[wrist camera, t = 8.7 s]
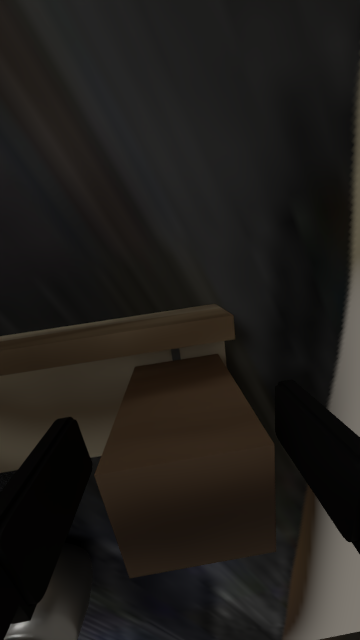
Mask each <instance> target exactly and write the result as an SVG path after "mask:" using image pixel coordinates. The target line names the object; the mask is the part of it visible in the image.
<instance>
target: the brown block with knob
mask: <svg viewBox="0 0 360 640" xmlns="http://www.w3.org/2000/svg"><path fill="white" fill-rule="evenodd" d="M94 476H95V479H96V482H97V485H98V488H99V490H100V493H101V496H102V499H103V502H104V505H105V508H106V511H107V514H108V517H109V520H110V522H111V525H112V528H113V531H114V534H115V537H116V540H117V543H118V546H119V549H120V551H121V554H122V557H123V560H124V563H125V566H126V569H127V572H128V575H129V578H134V577H140V576H145V575H151V574H156V573H161V572H167V571H172V570H178V569H183V568H189V567H194V566H200V565H205V564H211V563H216V562H222V561H227V560H232V559H238V558H243V557H249V556H254V555H260V554H265V553H271V552H276V513H275V449H274V443H273V441H272V440H271V438H270V437H269V435H268V433H267V432H266V430H265V429H264V427H263V425H262V424H261V422H260V421H259V419H258V417H257V416H256V414H255V413H254V411H253V409H252V408H251V406H250V405H249V403H248V401H247V400H246V398H245V396H244V395H243V393H242V392H241V390H240V388H239V387H238V385H237V384H236V382H235V380H234V379H233V377H232V376H231V374H230V372H229V371H228V369H227V368H226V366H225V364H224V363H223V361H222V359H221V358H220V356H219V355H218V354H212V355H206V356H200V357H193V358H187V359H181V360H174V361H168V362H161V363H155V364H149V365H142V366H136V367H135V368H134V370H133V373H132V376H131V378H130V381H129V384H128V386H127V389H126V392H125V394H124V397H123V400H122V402H121V405H120V408H119V410H118V413H117V416H116V418H115V421H114V424H113V426H112V429H111V432H110V434H109V437H108V440H107V442H106V445H105V448H104V450H103V453H102V456H101V458H100V461H99V464H98V466H97V469H96V472H95V474H94Z"/></svg>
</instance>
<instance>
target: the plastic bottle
mask: <svg viewBox="0 0 360 640" xmlns="http://www.w3.org/2000/svg"><path fill="white" fill-rule="evenodd" d="M92 580H93V569H92V562H91V558H90V555H89V554H88V553H87V552H86V551H85V550H84V549H82V548H81V547H79V546H76V545H73V544H69V543H64V545H63V548H62V551H61V553H60V556H59V559H58V561H57V564H56V566H55V569H54V572H53V574H52V577H51V580H50V582H49V585H48V588H47V590H46V592H45V595H44V597H43V598H42V600H41V601H40V602H39V603H37V605H36V608H35V611H34V613H33V616H32V618H31V621H26V622H21V623H16V624H11V625H10V627H9V629H8V632H7V634H6V636H5V638H4V640H78V637H79V634H80V630H81V627H82V624H83V621H84V618H85V615H86V611H87V608H88V605H89V600H90V593H91V587H92Z"/></svg>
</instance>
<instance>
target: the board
mask: <svg viewBox="0 0 360 640" xmlns="http://www.w3.org/2000/svg"><path fill="white" fill-rule="evenodd" d="M234 339H235V330H234V316H233V315H232V314H231V313H229V312H227V311H226V310H224V309H223V308H221V307H219V306H218V305H216V304H211V305H204V306H197V307H191V308H184V309H177V310H171V311H164V312H158V313H151V314H144V315H138V316H131V317H125V318H118V319H111V320H105V321H98V322H91V323H85V324H78V325H72V326H65V327H58V328H52V329H45V330H39V331H32V332H25V333H19V334H12V335H5V336H0V473H2V472H8V471H14V470H18V469H19V468H20V466H21V465H22V464H23V462H24V461H25V460H26V458H27V457H28V456H29V454H30V453H31V452H32V450H33V449H34V448H35V446H36V445H37V444H38V442H39V441H40V440H41V438H42V437H43V436H44V434H45V433H46V432H47V431H48V429H49V428H50V427H51V425H52V424H53V423H54V421H55V420H56V419H59V418H65V417H72V418H73V419H75V420H77V422H78V425H79V428H80V431H81V433H82V436H83V439H84V442H85V445H86V447H87V450H88V453H89V456H90V458H92V457H98V456H102V453H103V450H104V448H105V445H106V442H107V440H108V437H109V434H110V432H111V429H112V426H113V424H114V421H115V418H116V416H117V413H118V410H119V408H120V405H121V402H122V400H123V397H124V394H125V392H126V389H127V386H128V384H129V381H130V378H131V376H132V373H133V370H134V368H135V367H136V366H142V365H149V364H155V363H161V362H168V361H174V360H181V359H187V358H193V357H200V356H206V355H212V354H218V355H219V356H220V358H221V359H222V361H223V363H224V364H225V366H226V355H225V343H224V341H227V340H234ZM226 368H227V366H226Z"/></svg>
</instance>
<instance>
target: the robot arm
mask: <svg viewBox="0 0 360 640" xmlns="http://www.w3.org/2000/svg"><path fill="white" fill-rule="evenodd" d="M275 432H276V435H277V438H278V439H279V441H280V443H281V444H282V446H283V447H284V449H285V450H286V452H287V453H288V455H289V456H290V458H291V459H292V461H293V462H294V464H295V465H296V467H297V468H298V470H299V471H300V473H301V474H302V476H303V477H304V479H305V480H306V482H307V483H308V485H309V486H310V488H311V489H312V491H313V492H314V493H315V495H316V497H317V498H318V500H319V501H320V503H321V504H322V506H323V507H324V509H325V510H326V512H327V514H328V515H329V516H330V518H331V520H332V521H333V523H334V524H335V526H336V527H337V529H338V530H339V532H340V533H341V534H342V536H343V537H344V538H345V539H346V540H347V541H348V542H352V543H353V545H354V546H355V548H356V549H357V551H358V552H359V554H360V437H359V436H358V435H356V434H355V433H354V432H353V431H352V430H351V429H350V428H348V427H347V426H346V425H345V424H344V423H343V422H341V421H340V420H339V419H338V418H336V416H334V415H333V414H332V413H331V412H330V411H329V410H327V409H326V408H325V407H324V406H323V405H322V404H320V403H319V402H318V401H317V400H316V399H315V398H313V397H312V396H311V395H310V394H309V393H308V392H306V391H305V390H304V389H303V388H302V387H301V386H299V385H298V384H297V383H296V382H295V381H293V380H287V381H281V382H279V383H278V386H276V387H275ZM91 471H92V461H91V458H90V456H89V453H88V450H87V447H86V445H85V442H84V439H83V436H82V433H81V431H80V428H79V425H78V422H77V420H75V419H73V418H72V417H65V418H59V419H56V420H55V421H54V423H53V424H52V425H51V427H50V428H49V429H48V431H47V432H46V433H45V434H44V436H43V437H42V438H41V440H40V441H39V442H38V444H37V445H36V446H35V448H34V449H33V450H32V452H31V453H30V454H29V456H28V457H27V458H26V460H25V461H24V462H23V464H22V465H21V466H20V468H19V469H18V470H17V472H16V473H15V474H14V475H13V477H12V478H11V479H10V481H9V482H8V483H7V485H6V486H5V487H4V489H3V490H2V491H1V493H0V640H4V638H5V636H6V634H7V632H8V629H9V627H10V625H11V624H16V623H21V622H26V621H31V618H32V616H33V613H34V611H35V608H36V605H37V603H39V602H40V601H41V600H42V598H43V597H44V595H45V592H46V590H47V588H48V585H49V582H50V580H51V577H52V574H53V572H54V569H55V566H56V564H57V561H58V559H59V556H60V553H61V551H62V548H63V545H64V543H65V540H66V538H67V535H68V532H69V530H70V527H71V524H72V522H73V519H74V517H75V514H76V511H77V509H78V506H79V503H80V501H81V498H82V495H83V493H84V490H85V488H86V485H87V482H88V480H89V477H90V474H91ZM320 640H360V632H355V633H350V634H345V635H340V636H336V637H330V638H325V639H320Z"/></svg>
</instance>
